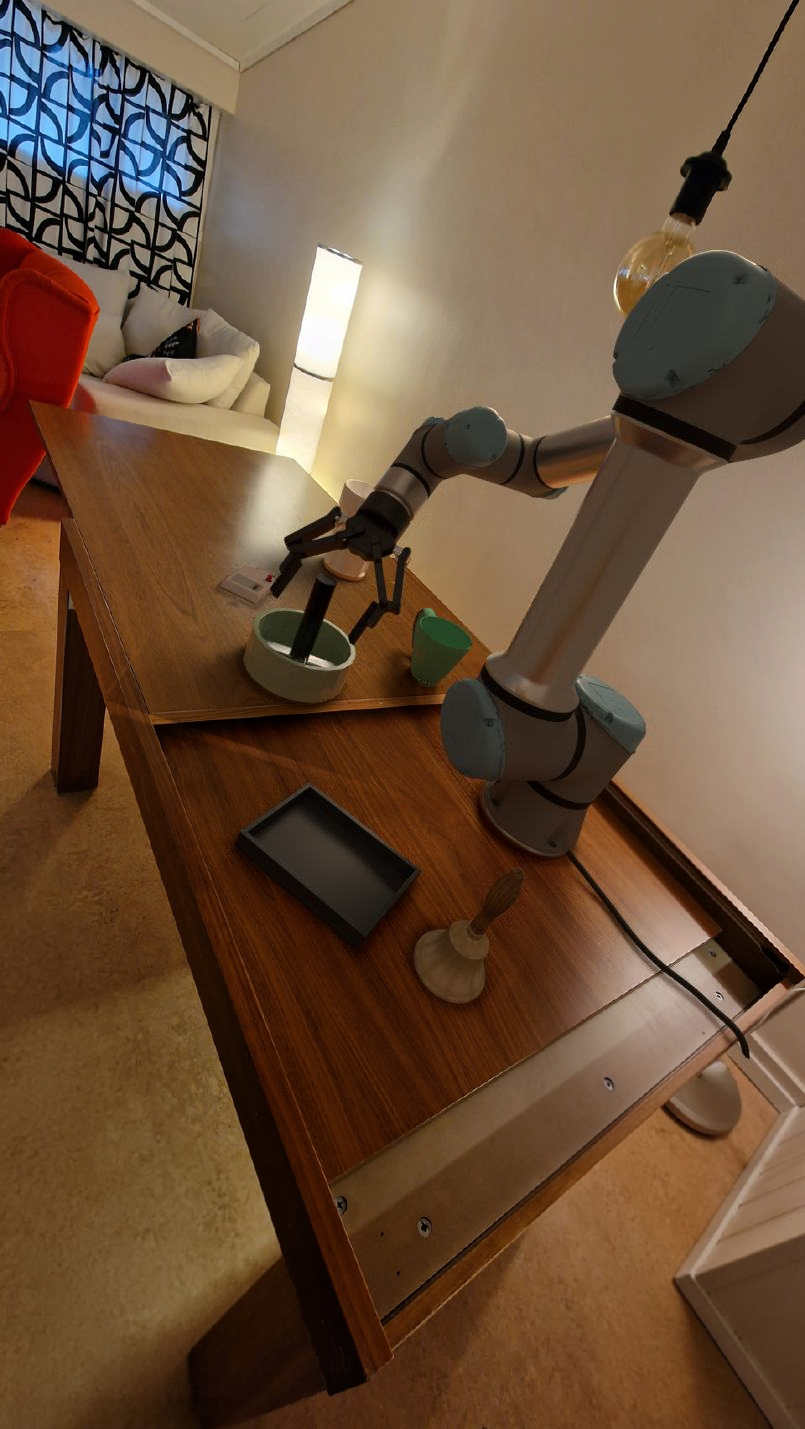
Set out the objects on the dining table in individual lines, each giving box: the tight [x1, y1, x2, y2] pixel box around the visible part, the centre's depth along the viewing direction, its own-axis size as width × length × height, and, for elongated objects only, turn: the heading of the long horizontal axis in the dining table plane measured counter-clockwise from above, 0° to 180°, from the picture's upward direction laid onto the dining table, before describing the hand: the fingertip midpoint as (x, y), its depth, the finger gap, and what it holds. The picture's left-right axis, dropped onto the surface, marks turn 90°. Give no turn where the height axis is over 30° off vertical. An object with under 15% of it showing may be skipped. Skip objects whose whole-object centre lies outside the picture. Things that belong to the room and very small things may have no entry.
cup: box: [322, 478, 376, 582], centre depth 128 cm, size 11×11×17 cm
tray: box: [233, 781, 422, 952], centre depth 69 cm, size 17×12×3 cm
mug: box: [410, 607, 473, 688], centre depth 110 cm, size 15×10×10 cm
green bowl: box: [242, 607, 356, 704], centre depth 94 cm, size 16×16×7 cm
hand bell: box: [413, 867, 526, 1005], centre depth 62 cm, size 8×8×16 cm
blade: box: [265, 573, 338, 668], centre depth 91 cm, size 11×10×16 cm
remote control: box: [218, 564, 280, 605], centre depth 111 cm, size 7×16×3 cm, turn 166°
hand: (311, 617), depth 90 cm, fingers open, 13 cm apart
